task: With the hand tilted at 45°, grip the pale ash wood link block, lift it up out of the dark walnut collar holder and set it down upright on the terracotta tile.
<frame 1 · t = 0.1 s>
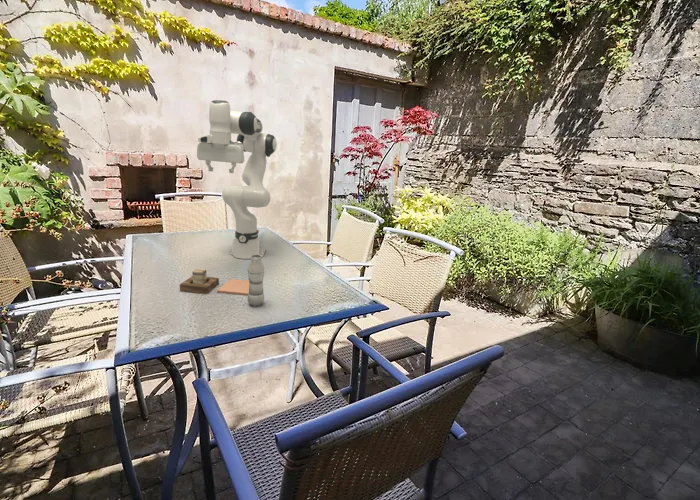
hand: (221, 172, 157), 48 cm above the table, tool pointing down, fingers open, 8 cm apart
walnut collar holder: (200, 287, 151), on the table
terracotta tile: (239, 288, 154), on the table
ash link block: (199, 279, 150), in the walnut collar holder
plastic bottle: (255, 304, 140), on the table
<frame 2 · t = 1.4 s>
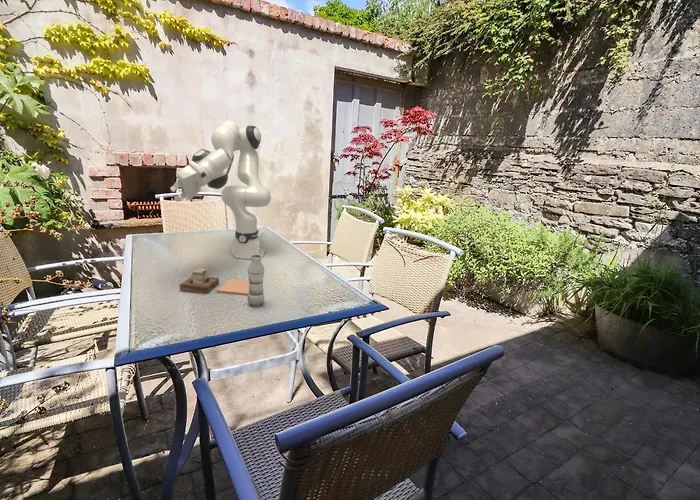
hand: (173, 195, 147), 38 cm above the table, tool tilted 55°, fingers open, 8 cm apart
nothing on the table moved.
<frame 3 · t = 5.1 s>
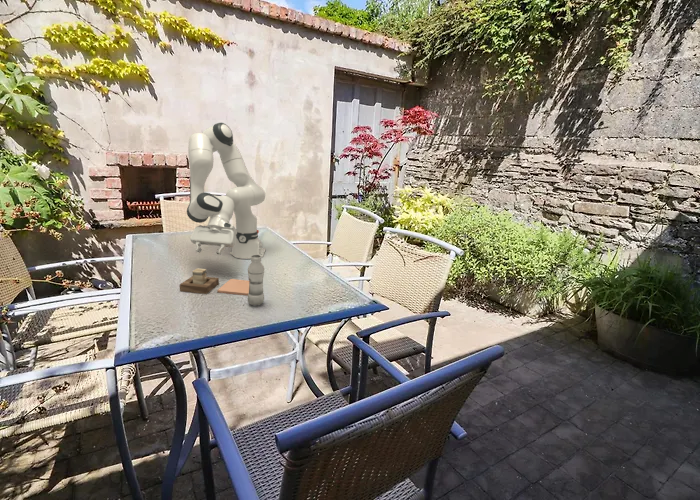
hand: (208, 252, 157), 13 cm above the table, tool tilted 45°, fingers open, 8 cm apart
nothing on the table moved.
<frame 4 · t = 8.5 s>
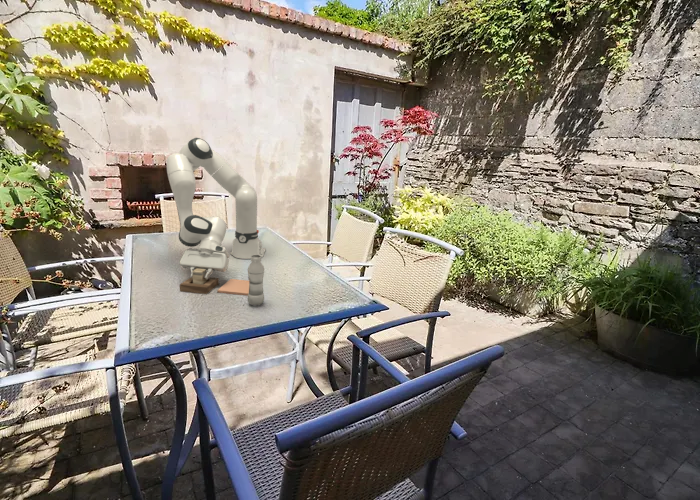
hand: (199, 278, 150), 5 cm above the table, tool tilted 45°, fingers closed on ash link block, 4 cm apart
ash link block: (199, 279, 150), in the walnut collar holder, touching gripper
everything else where it was.
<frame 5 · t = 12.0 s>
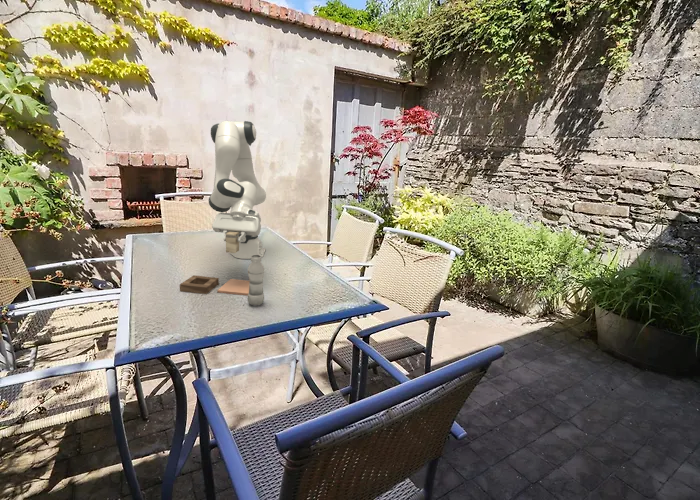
hand: (232, 241, 147), 21 cm above the table, tool tilted 45°, fingers closed on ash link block, 4 cm apart
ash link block: (232, 242, 148), point 21 cm above the table, touching gripper
everything else where it was.
when the fingers open (7 cm above the table, at t = 15.9 s): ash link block drops 2 cm, resting on terracotta tile.
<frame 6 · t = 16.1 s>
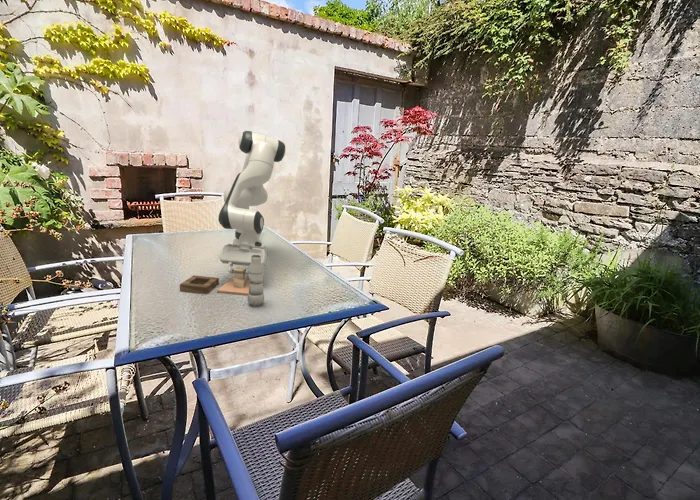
hand: (239, 273, 152), 7 cm above the table, tool tilted 45°, fingers open, 6 cm apart
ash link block: (239, 277, 153), on the terracotta tile, point 5 cm above the table
everything else where it was.
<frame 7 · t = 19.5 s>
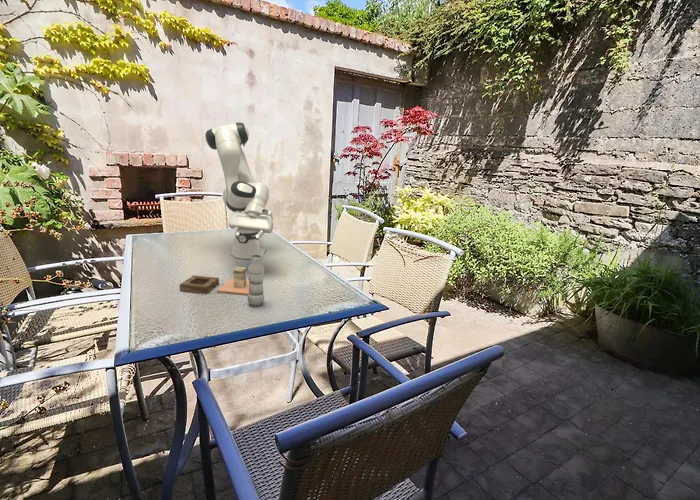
hand: (247, 238, 161), 20 cm above the table, tool tilted 45°, fingers open, 8 cm apart
nothing on the table moved.
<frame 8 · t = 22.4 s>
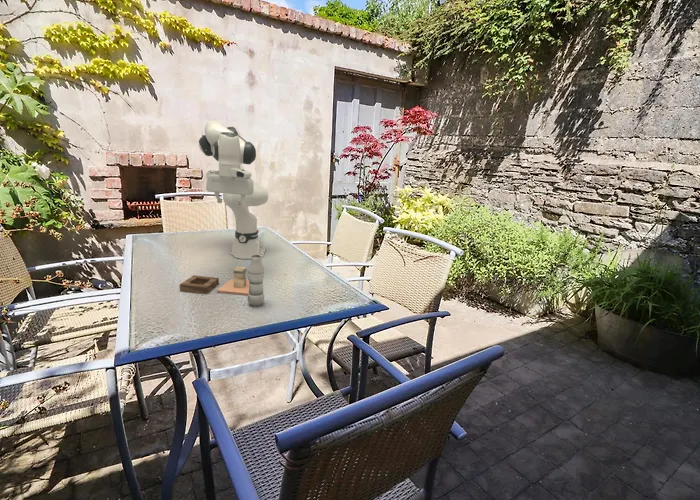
hand: (230, 203, 155), 35 cm above the table, tool pointing down, fingers open, 8 cm apart
nothing on the table moved.
at the end: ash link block inside the target area on the terracotta tile (0.1 cm from its centre), point 5.0 cm above the terracotta tile's base; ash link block tilted 0°; the gripper is holding nothing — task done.
